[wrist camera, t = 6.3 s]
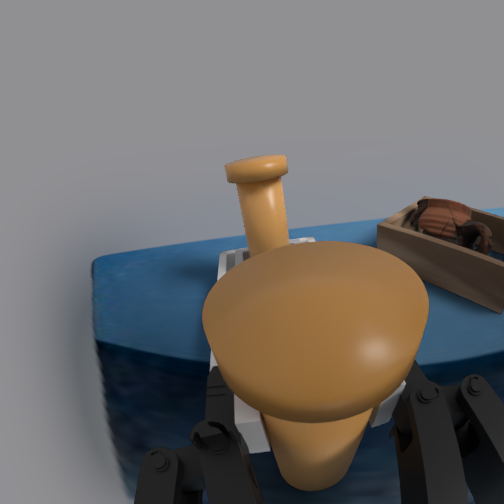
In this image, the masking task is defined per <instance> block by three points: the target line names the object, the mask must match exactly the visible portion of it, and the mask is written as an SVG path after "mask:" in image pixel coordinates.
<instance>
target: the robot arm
mask: <svg viewBox="0 0 504 504" xmlns="http://www.w3.org/2000/svg"><path fill="white" fill-rule="evenodd" d="M206 396H207V398H206V408H205V420H202V421H200V422H198V423H197V424H196V425H195V426H194V427H193V429H192V430H191V432H190V441H191V442H192V443H193V444H192V445H190V446H187V447H184V448H180V449H177V450H173V451H171V450H170V449H168V448H164V447H156V448H153V449H151V450H149V451H148V452H147V453H146V454H145V455H144V458H143V460H142V464H141V469H140V474H139V479H138V485H137V490H136V495H135V501H134V504H202V495H203V489H206V490H207V494H208V498H209V502H210V504H265V502H264V500H263V497H262V494H261V491H260V488H259V486H258V483H257V480H256V477H255V474H254V471H253V468H252V465H251V463H250V461H249V452H250V453H259V452H267V451H270V443H269V436H268V433H267V430H266V426H265V423H264V420H263V417H262V414H261V412H260V411H258V410H256V409H254V408H252V407H250V406H249V405H247V404H246V403H245V402H243V401H242V400H241V399H239V398H238V397H237V396H236V395H235V394H234V393H233V392H232V391H231V389H230V388H229V387H228V385H227V384H226V382H225V381H224V379H223V377H222V375H221V372H220V370H219V368H218V366H213V368H212V369H211V371H210V373H209V375H208V378H207V392H206ZM391 416H393V418H394V420H395V425H394V426H393V428H392V430H391V432H390V434H389V438H392V437H393V435H394V437H395V444H396V452H397V459H398V468H399V478H400V490H401V504H469V503H468V495H467V488H466V482H467V485H468V487H469V489H470V491H471V494H472V496H473V498H474V500H475V503H476V504H504V405H503V403H502V402H501V400H500V399H499V397H498V396H497V395H496V393H495V392H494V390H493V389H492V388H491V386H490V385H489V383H488V382H487V381H486V380H485V379H484V378H483V377H482V376H480V375H474V374H472V375H469V376H467V377H466V378H465V379H464V380H463V381H462V383H461V384H458V385H451V386H439V385H437V384H436V383H434V382H431V381H428V379H427V378H426V377H425V375H424V373H423V372H422V370H421V368H420V367H419V365H418V364H417V362H416V360H414V363H413V366H412V368H411V370H410V372H409V374H408V376H407V377H406V379H405V380H404V381H403V383H402V384H401V385H400V387H399V388H398V389H397V390H396V391H395V392H394V393H393V394H392V395H391V396H390V397H388V398H387V399H385V400H384V401H383V402H381V403H380V404H378V405H377V406H375V407H373V409H372V412H371V415H370V418H369V422H370V425H371V427H375V426H378V425H381V424H384V423H386V422H389V420H390V418H391ZM465 480H466V482H465Z"/></svg>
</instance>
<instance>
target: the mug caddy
mask: <svg viewBox="0 0 504 504" xmlns="http://www.w3.org/2000/svg"><path fill="white" fill-rule="evenodd" d="M421 199H435V198H431V197H427V196H424V197H423V198H421ZM421 199H419V200H421ZM419 200H418V201H419ZM418 201H416V202H415V203H413V204H411V205H410V206H408V207H406V208H405V209H403V210H402V211H400V212H398V213H396V214H394V215H393V216H391V217H389V218H388V219H386V220H384V221H383V222H381V223H379V224H377V249H380V250H382V251H385V252H387V253H389V254H391V255H393V256H395V257H397V258H399V259H400V260H402V261H403V262H405V263H406V264H407V265H408V266H410V267H411V268H412V269H413V270H414V271H415V272H416V273H417V275H418V276H419V277H420V279H421V280H423V281H426V282H428V283H431V284H433V285H436V286H438V287H440V288H443V289H445V290H448V291H450V292H452V293H455V294H457V295H459V296H462V297H464V298H466V299H469V300H471V301H473V302H475V303H478V304H480V305H482V306H484V307H487V308H489V309H491V310H493V311H496V312H498V313H500V314H502V311H503V309H504V262H503V261H500V260H498V259H495V258H492V257H490V256H487V255H484V254H481V253H479V252H476V251H473V250H470V249H467V248H465V247H462V246H459V245H456V244H453V243H450V242H447V241H444V240H441V239H438V238H434V237H431V236H428V235H425V234H422V231H423V229H421V228H420V226H419V223H416V224H415V225H413V226H411V222H410V221H409V219H410V217H411V215H412V214H413V213H414V212H415V211H416V210H417V209H418V205H417V202H418ZM469 208H470V207H469ZM470 209H471V211H472V214H471V220H472V221H477V222H481V223H483V224H485V225H486V226H488V228H489V229H490V231H491V233H492V244H493V246H492V248H491V249H490V250H493V251H495V252H498V253H501V254H504V218H503V217H500V216H497V215H494V214H491V213H487V212H484V211H481V210H477V209H474V208H470ZM480 241H481V236H479V237H478V238H477V240H476V245H479V244H480Z"/></svg>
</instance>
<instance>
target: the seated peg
mask: <svg viewBox="0 0 504 504" xmlns="http://www.w3.org/2000/svg"><path fill="white" fill-rule="evenodd" d="M225 171H226V175H227V181H228V182H229V183H236V185H237V191H238V196H239V201H240V207H241V211H242V217H243V222H244V227H245V233H246V238H247V243H248V249H249V254H250V258H251V257H253V256H255V255H258V254H260V253H263V252H266V251H269V250H272V249H275V248H279V247H282V246H287V245H290V242H289V234H288V227H287V218H286V212H285V211H286V210H285V203H284V196H283V188H282V181H281V176H283V175H285V174H287V173H288V168H287V160H286V156H285V155H265V156H257V157H251V158H246V159H241V160H237V161H234V162H231V163H228V164H226V165H225Z"/></svg>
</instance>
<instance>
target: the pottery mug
mask: <svg viewBox="0 0 504 504" xmlns="http://www.w3.org/2000/svg"><path fill="white" fill-rule="evenodd" d="M417 205H418V209H417V210H416V211H415V212H414V213H413V214H412V215H411V217H410V219H409V221H410V222H411V226H413V225H415V224H416V223H419V226H420V228H421V229H423V231H422V234H425V235H428V236H431V237H434V238H438V239H441V240H444V241H447V242H450V243H453V244H456V245H459V246H462V247H465V248H467V249H470V250H473V251H476V252H479V253H481V254H484V255H488V253H489V251H490V249H491V248H492V246H493V244H492V233H491V231H490V229H489V228H488V226H486V225H485V224H483V223H481V222H477V221H472V220H471V214H472V211H471V209H470V208H469V207H467V206H466V205H464V204H461V203H459V202H455V201H451V200H446V199H421V200H419V201H418V202H417ZM479 236H481V241H480V244H479V246H478V247H477V248H476V249H475V250H474V247H475V245H476V240H477V238H478V237H479Z"/></svg>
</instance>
